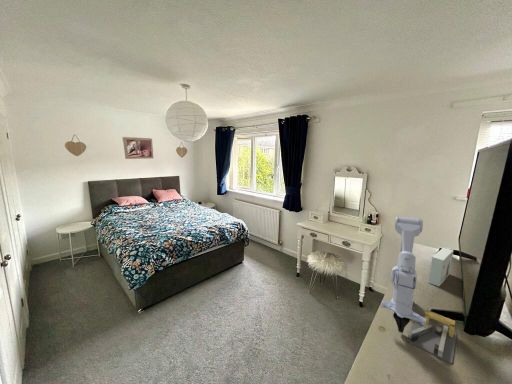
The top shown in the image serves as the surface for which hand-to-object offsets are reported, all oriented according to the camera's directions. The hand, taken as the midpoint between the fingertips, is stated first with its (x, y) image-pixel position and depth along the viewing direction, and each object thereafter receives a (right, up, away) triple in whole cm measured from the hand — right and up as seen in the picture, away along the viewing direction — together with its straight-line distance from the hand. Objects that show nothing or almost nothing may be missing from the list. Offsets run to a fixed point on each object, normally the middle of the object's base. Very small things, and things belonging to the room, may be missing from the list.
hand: (401, 330), depth 85 cm
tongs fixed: (+12, -1, -4) cm, 12 cm away
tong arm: (+7, -1, -1) cm, 7 cm away
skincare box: (+49, +5, +38) cm, 62 cm away
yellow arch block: (+16, -1, +1) cm, 16 cm away
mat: (+11, -1, -2) cm, 11 cm away
